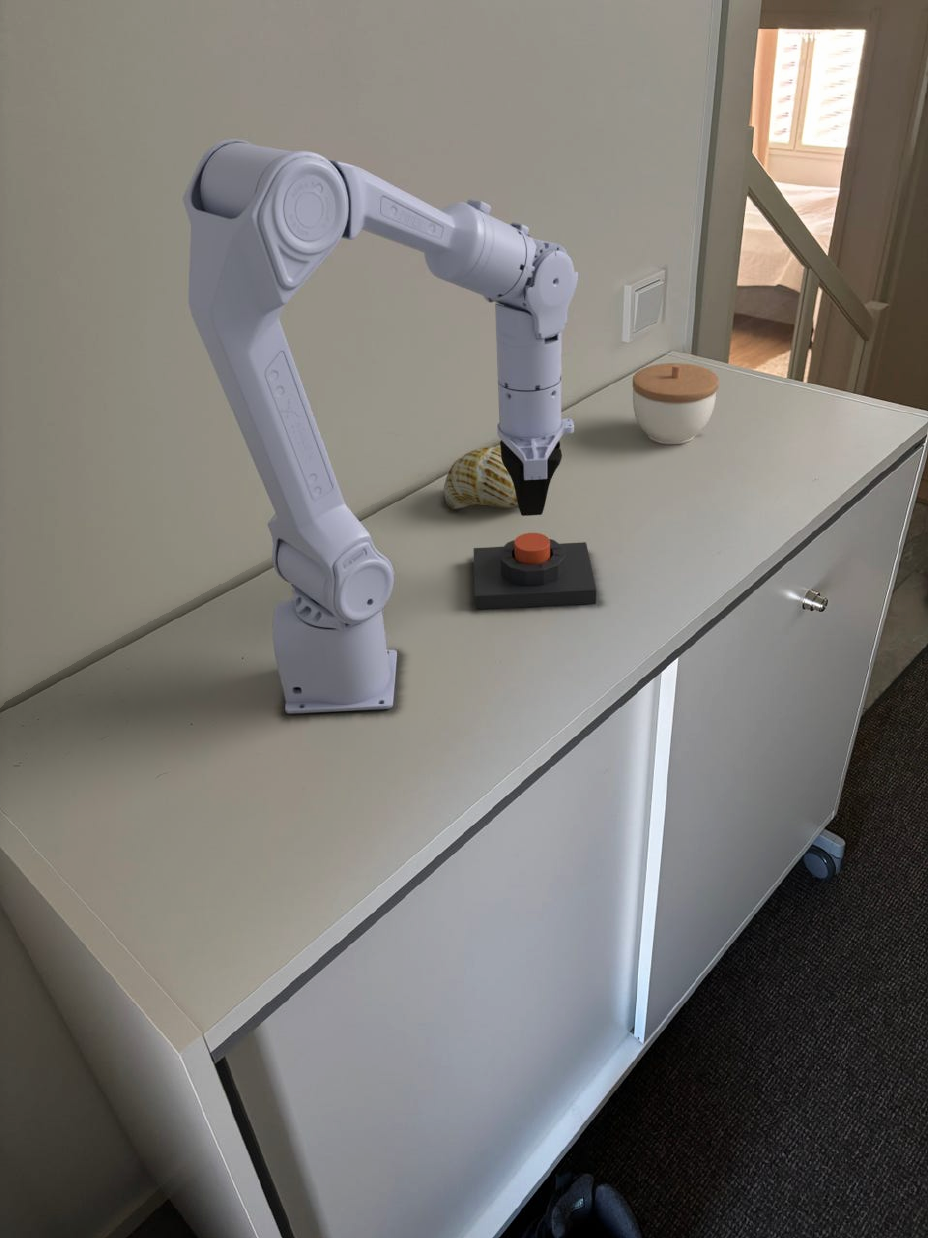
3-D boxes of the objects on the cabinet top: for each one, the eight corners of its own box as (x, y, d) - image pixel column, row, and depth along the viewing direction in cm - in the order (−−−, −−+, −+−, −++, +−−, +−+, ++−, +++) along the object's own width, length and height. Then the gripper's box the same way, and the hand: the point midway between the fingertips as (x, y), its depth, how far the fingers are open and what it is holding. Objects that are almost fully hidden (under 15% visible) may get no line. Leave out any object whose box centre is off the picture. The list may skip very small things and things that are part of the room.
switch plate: (475, 609, 92) (474, 580, 90) (474, 561, 99) (472, 533, 97) (596, 603, 92) (597, 574, 89) (585, 555, 99) (586, 527, 97)
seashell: (424, 495, 110) (450, 414, 107) (487, 507, 116) (513, 431, 113) (467, 526, 103) (497, 440, 100) (533, 537, 108) (562, 456, 105)
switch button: (515, 566, 92) (515, 551, 91) (513, 547, 95) (513, 533, 94) (551, 564, 92) (551, 550, 91) (548, 546, 95) (548, 531, 94)
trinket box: (730, 435, 120) (738, 366, 115) (671, 460, 115) (676, 389, 110) (671, 410, 127) (676, 344, 122) (613, 433, 123) (615, 364, 117)
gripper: (583, 409, 76) (580, 548, 84) (566, 348, 88) (564, 475, 96) (498, 413, 77) (503, 552, 85) (492, 352, 88) (497, 479, 96)
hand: (531, 511), depth 90 cm, fingers closed
